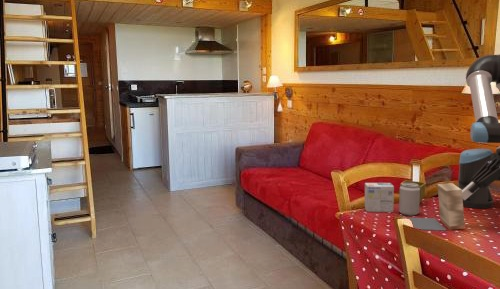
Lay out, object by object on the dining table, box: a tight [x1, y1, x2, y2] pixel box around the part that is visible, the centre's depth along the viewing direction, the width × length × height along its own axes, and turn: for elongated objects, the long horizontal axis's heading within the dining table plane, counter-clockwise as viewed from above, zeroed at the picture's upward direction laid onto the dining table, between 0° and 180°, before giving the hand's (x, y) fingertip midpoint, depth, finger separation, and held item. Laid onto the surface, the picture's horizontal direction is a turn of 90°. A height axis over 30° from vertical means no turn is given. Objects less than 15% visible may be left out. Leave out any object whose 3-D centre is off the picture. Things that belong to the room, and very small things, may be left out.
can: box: [398, 182, 420, 217], centre depth 160 cm, size 8×8×12 cm
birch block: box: [437, 182, 466, 231], centre depth 145 cm, size 5×10×14 cm, turn 172°
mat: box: [407, 217, 447, 232], centre depth 148 cm, size 13×13×1 cm
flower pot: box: [399, 180, 427, 204], centre depth 174 cm, size 9×9×9 cm
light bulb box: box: [364, 182, 395, 213], centre depth 165 cm, size 11×7×11 cm, turn 84°
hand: (461, 197), depth 144 cm, fingers closed
